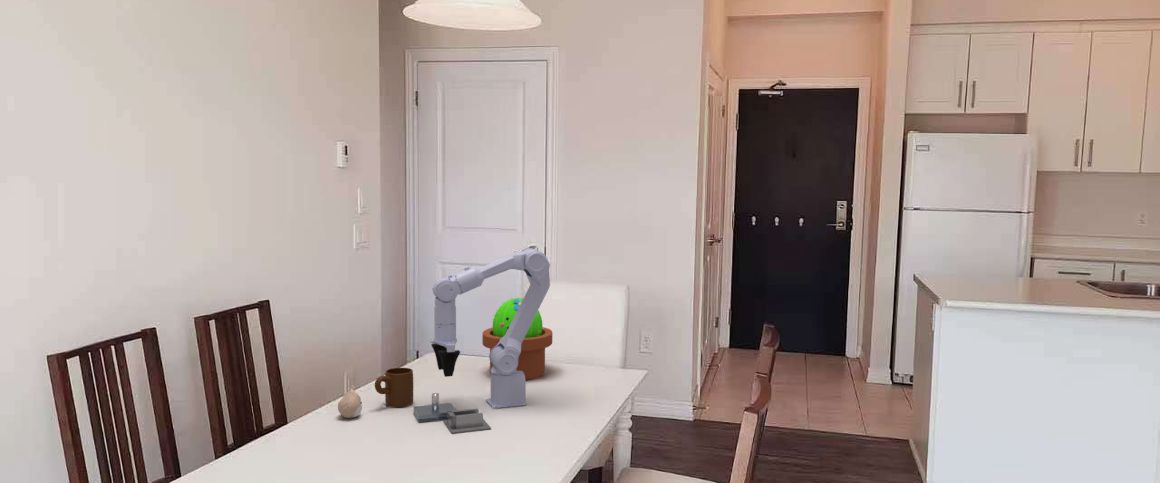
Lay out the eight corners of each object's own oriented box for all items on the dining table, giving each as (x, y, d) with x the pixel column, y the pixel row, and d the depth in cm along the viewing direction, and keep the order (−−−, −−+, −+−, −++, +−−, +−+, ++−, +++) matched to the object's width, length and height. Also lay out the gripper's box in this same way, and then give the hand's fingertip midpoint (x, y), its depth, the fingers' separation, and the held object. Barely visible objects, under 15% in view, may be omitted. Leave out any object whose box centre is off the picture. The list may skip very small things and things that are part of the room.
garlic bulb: (368, 415, 208) (367, 386, 208) (350, 422, 203) (350, 392, 202) (349, 411, 211) (349, 382, 211) (331, 418, 206) (331, 388, 205)
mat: (481, 417, 208) (481, 416, 208) (491, 429, 199) (491, 427, 198) (443, 421, 204) (443, 420, 204) (451, 433, 195) (451, 432, 195)
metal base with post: (450, 410, 214) (450, 388, 213) (457, 418, 206) (457, 396, 206) (413, 413, 210) (413, 391, 210) (419, 423, 203) (418, 400, 202)
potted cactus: (492, 364, 264) (492, 289, 262) (557, 367, 261) (557, 292, 259) (474, 381, 243) (474, 300, 240) (545, 384, 240) (545, 303, 237)
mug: (385, 413, 210) (384, 379, 209) (366, 408, 215) (366, 374, 214) (419, 403, 220) (419, 370, 219) (400, 398, 224) (400, 365, 223)
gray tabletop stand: (477, 419, 205) (477, 408, 205) (482, 425, 200) (482, 414, 200) (446, 422, 202) (446, 411, 202) (451, 429, 197) (451, 417, 197)
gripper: (425, 319, 218) (425, 367, 220) (435, 329, 205) (436, 380, 206) (450, 317, 221) (450, 365, 222) (462, 327, 208) (462, 378, 209)
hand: (445, 372), depth 214 cm, fingers open, 7 cm apart
